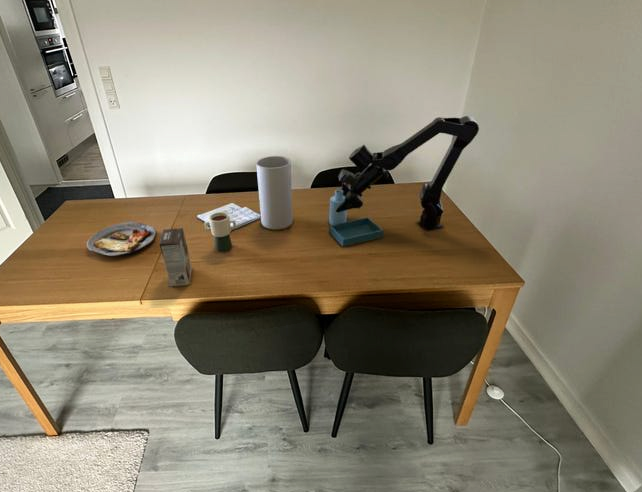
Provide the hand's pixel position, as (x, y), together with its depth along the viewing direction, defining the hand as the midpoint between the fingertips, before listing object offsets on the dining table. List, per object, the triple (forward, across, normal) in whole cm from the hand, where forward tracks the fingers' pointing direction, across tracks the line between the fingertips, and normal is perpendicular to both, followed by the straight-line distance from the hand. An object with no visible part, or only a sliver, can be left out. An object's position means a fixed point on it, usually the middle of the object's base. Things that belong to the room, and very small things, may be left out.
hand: (335, 205), depth 144 cm
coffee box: (+42, +35, -32) cm, 64 cm away
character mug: (+34, +18, -24) cm, 46 cm away
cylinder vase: (+21, 0, -11) cm, 24 cm away
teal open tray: (0, +10, +10) cm, 14 cm away
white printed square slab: (+36, -5, -25) cm, 44 cm away
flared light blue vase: (+4, 0, +6) cm, 7 cm away
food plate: (+63, +12, -52) cm, 83 cm away
